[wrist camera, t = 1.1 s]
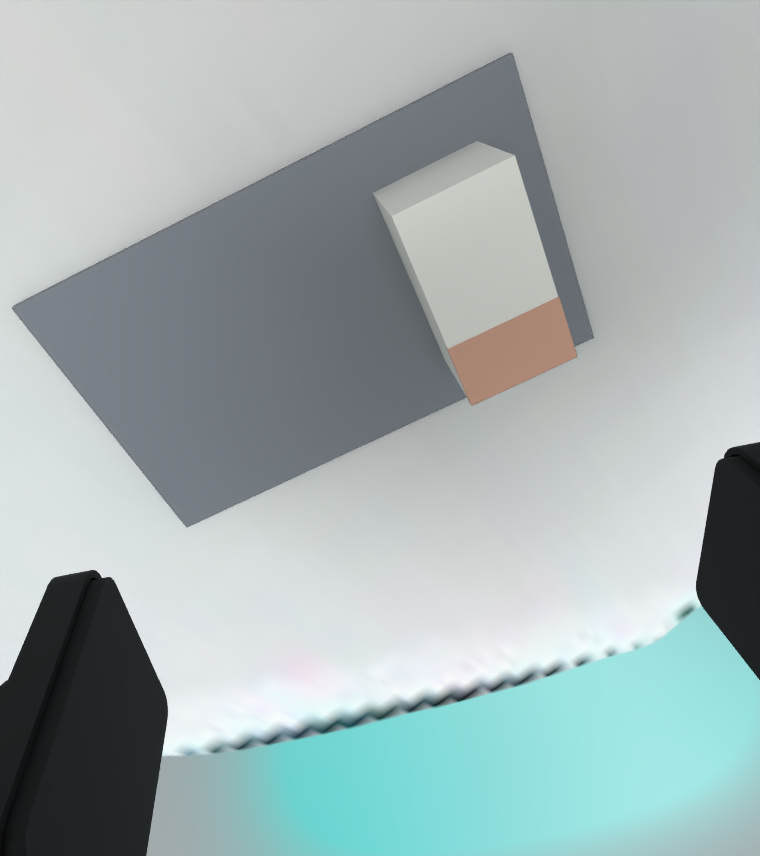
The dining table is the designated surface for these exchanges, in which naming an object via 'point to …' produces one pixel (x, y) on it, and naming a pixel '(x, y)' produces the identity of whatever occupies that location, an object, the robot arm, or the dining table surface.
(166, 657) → the dining table surface
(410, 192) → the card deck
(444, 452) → the dining table surface
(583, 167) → the dining table surface
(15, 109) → the dining table surface
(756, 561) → the robot arm
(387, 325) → the mat
